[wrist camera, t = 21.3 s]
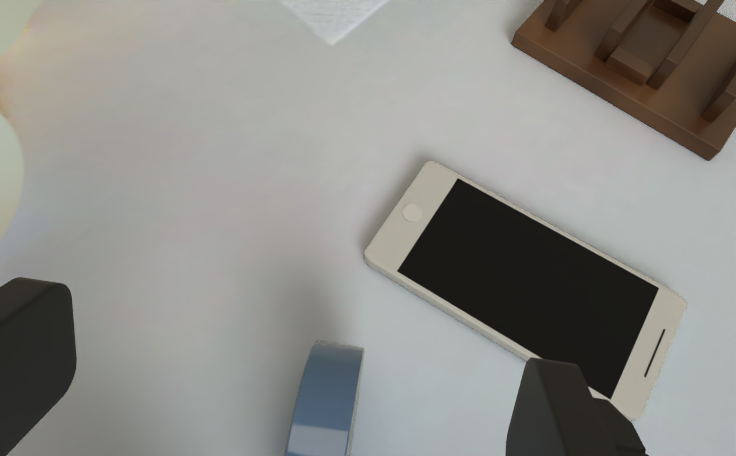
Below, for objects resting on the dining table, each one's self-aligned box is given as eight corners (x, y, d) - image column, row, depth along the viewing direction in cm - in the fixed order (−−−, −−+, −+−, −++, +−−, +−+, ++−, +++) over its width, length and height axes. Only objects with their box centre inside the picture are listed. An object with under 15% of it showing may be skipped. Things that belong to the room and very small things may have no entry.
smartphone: (427, 164, 32) (429, 156, 32) (680, 304, 29) (690, 299, 28) (360, 261, 30) (361, 254, 29) (630, 425, 27) (640, 423, 26)
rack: (772, 60, 36) (814, 18, 33) (708, 161, 33) (747, 127, 30) (585, -39, 40) (606, -85, 37) (510, 44, 36) (526, 1, 33)
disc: (361, 381, 28) (368, 315, 21) (330, 577, 23) (327, 578, 16) (321, 375, 28) (315, 307, 21) (284, 569, 24) (260, 566, 16)
